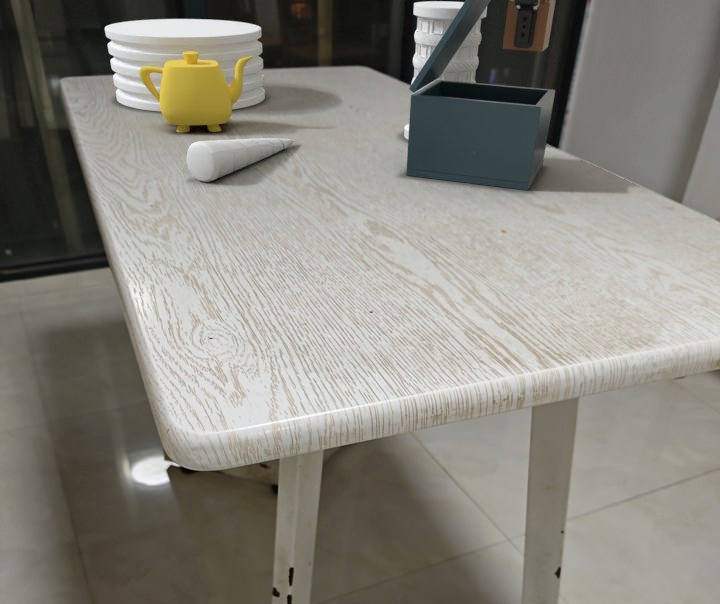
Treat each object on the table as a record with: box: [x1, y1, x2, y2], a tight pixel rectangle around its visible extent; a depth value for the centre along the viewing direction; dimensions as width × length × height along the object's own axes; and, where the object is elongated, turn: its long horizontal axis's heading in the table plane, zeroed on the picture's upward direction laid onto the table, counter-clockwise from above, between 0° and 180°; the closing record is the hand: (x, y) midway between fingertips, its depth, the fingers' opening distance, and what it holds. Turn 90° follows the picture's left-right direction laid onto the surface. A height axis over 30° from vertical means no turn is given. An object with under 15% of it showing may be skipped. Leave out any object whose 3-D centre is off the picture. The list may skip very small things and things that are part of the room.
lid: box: [408, 0, 492, 94], centre depth 89 cm, size 18×13×6 cm
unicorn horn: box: [185, 137, 295, 183], centre depth 99 cm, size 5×24×5 cm, turn 150°
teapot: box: [139, 51, 253, 133], centre depth 114 cm, size 18×11×11 cm, turn 101°
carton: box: [502, 0, 556, 53], centre depth 88 cm, size 5×5×5 cm
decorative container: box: [403, 0, 488, 140], centre depth 109 cm, size 12×12×18 cm
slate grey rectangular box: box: [405, 80, 556, 191], centre depth 97 cm, size 17×13×10 cm
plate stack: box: [104, 18, 266, 113], centre depth 132 cm, size 28×28×12 cm
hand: (526, 44), depth 89 cm, fingers closed on carton, 5 cm apart
